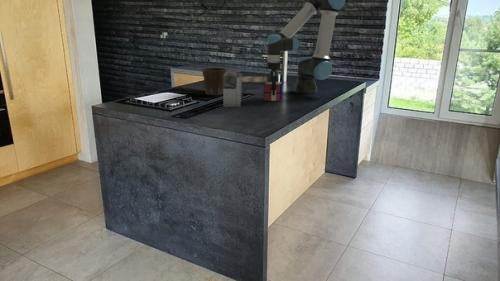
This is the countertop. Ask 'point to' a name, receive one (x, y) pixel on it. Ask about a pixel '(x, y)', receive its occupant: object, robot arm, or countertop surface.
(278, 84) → the puzzle cube
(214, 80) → the plant pot
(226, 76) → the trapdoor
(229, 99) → the bracket
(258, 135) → the countertop surface
